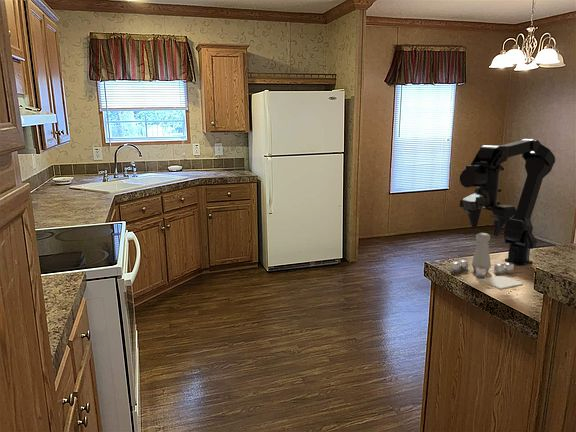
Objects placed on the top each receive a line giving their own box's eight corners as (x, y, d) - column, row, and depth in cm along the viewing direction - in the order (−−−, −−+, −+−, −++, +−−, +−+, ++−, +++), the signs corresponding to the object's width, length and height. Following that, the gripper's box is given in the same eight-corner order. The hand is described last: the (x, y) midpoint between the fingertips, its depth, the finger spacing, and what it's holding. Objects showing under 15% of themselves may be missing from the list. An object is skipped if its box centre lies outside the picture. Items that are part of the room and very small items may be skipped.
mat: (502, 276, 146) (502, 275, 146) (522, 284, 139) (523, 283, 139) (480, 280, 143) (480, 279, 143) (500, 289, 135) (500, 288, 135)
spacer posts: (488, 263, 159) (489, 254, 158) (515, 273, 149) (516, 264, 148) (447, 270, 153) (448, 261, 152) (472, 281, 142) (473, 272, 142)
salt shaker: (485, 268, 154) (488, 231, 151) (493, 274, 148) (496, 235, 145) (468, 268, 154) (470, 231, 151) (475, 274, 148) (478, 236, 145)
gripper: (448, 183, 150) (445, 228, 154) (492, 190, 133) (487, 242, 137) (474, 181, 154) (470, 225, 158) (520, 188, 137) (515, 238, 141)
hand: (484, 232), depth 148 cm, fingers open, 9 cm apart
